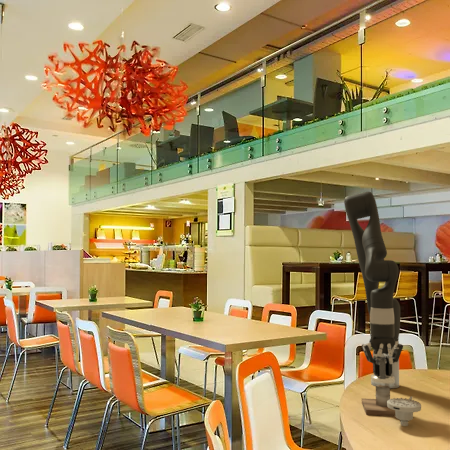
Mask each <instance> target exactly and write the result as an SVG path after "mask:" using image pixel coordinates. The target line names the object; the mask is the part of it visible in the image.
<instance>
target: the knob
mask: <svg viewBox="0 0 450 450" xmlns="http://www.w3.org/2000/svg"><path fill="white" fill-rule="evenodd" d="M379 370H380V376H375V374H374V373H373V374H371V375H370V384H371V385H372V386H373V387H375V388H376V387H382V388H390V389H392V388H391V387H394V386H395V377H394V376H387V375H386V359H385V357H381V358H380V360H379Z"/></svg>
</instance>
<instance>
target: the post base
mask: <svg viewBox="0 0 450 450" xmlns="http://www.w3.org/2000/svg"><path fill="white" fill-rule="evenodd" d="M390 399H391V388H382V387H376V386H375V398H361V404H362V408H363V410H364V412H365V415H366V416H383V417H396V416H395V410H392V409H390V408H388V407H387V401H388V400H390Z"/></svg>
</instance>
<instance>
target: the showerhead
mask: <svg viewBox="0 0 450 450" xmlns="http://www.w3.org/2000/svg"><path fill="white" fill-rule="evenodd" d="M387 407H388V408H390V409H392V410H395V416H394V417H395V418H396V419H397V420H399V421H400V422H399V423H400V425H401V426H403V427H408V426H409V421H412V420H413V419H414V413H418V412H420V411H421V410H422V403H420V402H419V401H417V400H415V399H413V396H409V398H406V397H405V398H403V397H400V398H398V397H396V398H395V397H394V398H390V400H388V401H387Z"/></svg>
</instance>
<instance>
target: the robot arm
mask: <svg viewBox="0 0 450 450" xmlns="http://www.w3.org/2000/svg"><path fill="white" fill-rule="evenodd" d="M343 204H344V209H345V212H346V216H347V219H348V222H349V223H348V224H349V225H350V226H349V227H350V231H351V233H352V236H353V240H354V241H353V242H354V245H355V250H356V255H357V260H358V264H359V268H360V272H361V276H362V279H363V284H364V285H363V286H364V289H365V296H366V298H365V299H366V304H367V311H368V315H369V334H370V338H369V342H367V343H362V344H361V348H362V351H363V353H364V356H365V358H366V361H367V362H369V363H371V364H372V373H373V374H375V376H380V370H379V360H380V358H381V357H385V359H386V375H387V376H394V377H395V386H394V387H391V388H390V389H396V388H397V389H398V388H400V356H401V354H402V351H403V349H404V345H403V344H402V343H399V342H400V341H399V336H400V331H401V305H400V302H399V301H398V300H397V299H396V298H394V294H395V293H394V292H395V289H396V284H397V281H398V277H399V266H398V264H397V262H396V261H394V260H392V259H386V260H385V258H386V257H387V255H388V252H387V250H388V249H387V247H386V244H385V241H384V238H383V234H382V229H381V222H380V216H379V215H380V214H379V211H378V205H377V202H376V198H375V196H374V194H373V192H372V191H363V192H360V193H355V194H351V195H347V196H345V198H344V199H343ZM365 218H369V220H368V223H367V225H366V227H365V229H364V228H362V227H361V225H360V223H359V221H358V220H360V219H365ZM380 283H384V285H383V286H382V287H379V284H380ZM371 348H372V349H373V350H372V349H371ZM371 350H372V353H371Z"/></svg>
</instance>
